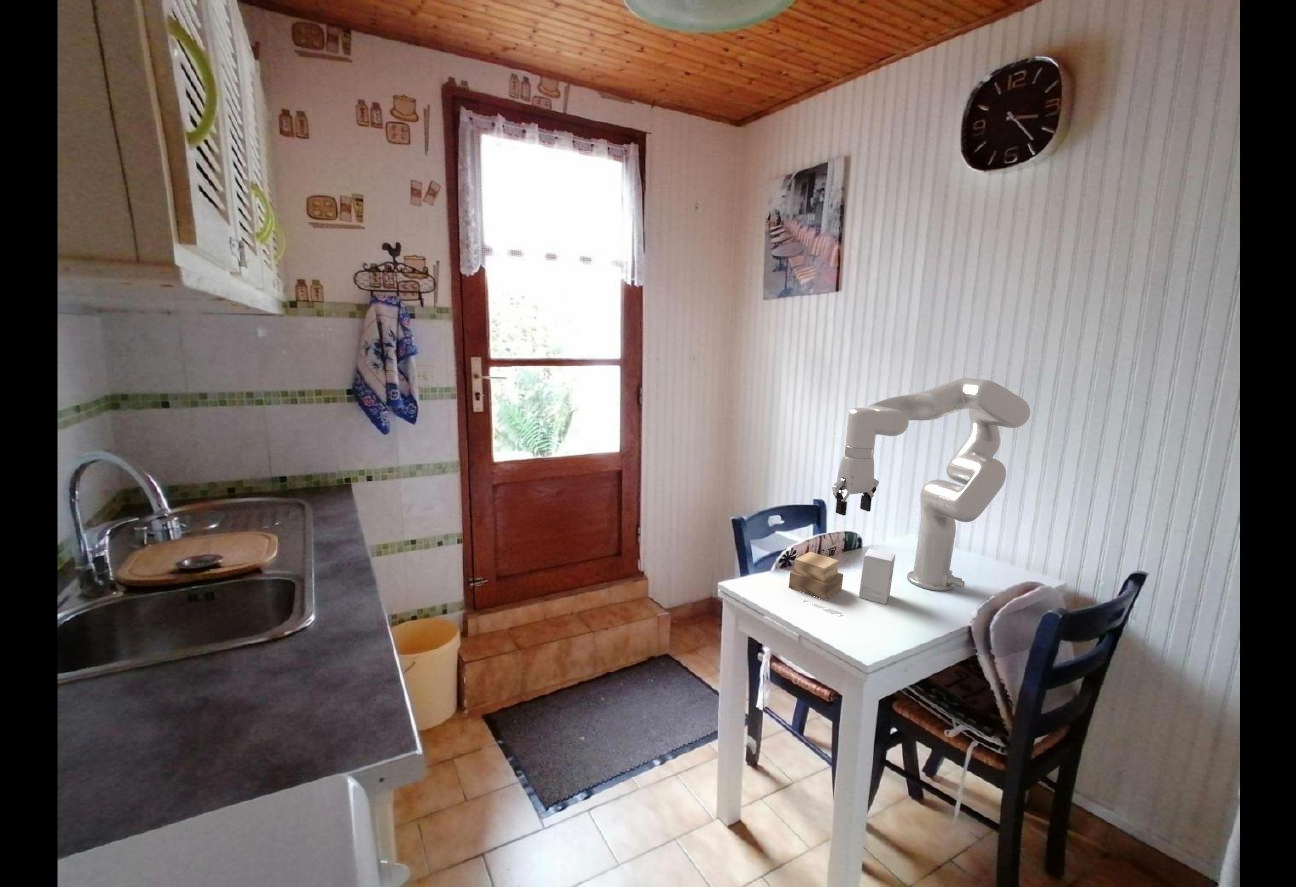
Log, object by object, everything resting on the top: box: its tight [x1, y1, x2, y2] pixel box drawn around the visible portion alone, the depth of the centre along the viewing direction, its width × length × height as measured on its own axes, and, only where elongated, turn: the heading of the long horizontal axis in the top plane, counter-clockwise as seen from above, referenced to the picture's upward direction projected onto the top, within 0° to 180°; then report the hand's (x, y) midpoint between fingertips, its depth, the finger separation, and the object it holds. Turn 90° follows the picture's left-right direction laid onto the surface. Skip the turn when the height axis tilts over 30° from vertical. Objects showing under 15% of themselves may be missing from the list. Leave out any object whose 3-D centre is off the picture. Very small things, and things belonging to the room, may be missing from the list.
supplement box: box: [858, 548, 896, 605], centre depth 157 cm, size 7×7×13 cm
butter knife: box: [802, 599, 844, 617], centre depth 153 cm, size 1×24×3 cm
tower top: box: [793, 551, 840, 582], centre depth 160 cm, size 9×9×4 cm
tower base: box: [788, 570, 844, 601], centre depth 161 cm, size 11×11×5 cm
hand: (853, 512), depth 158 cm, fingers open, 9 cm apart
